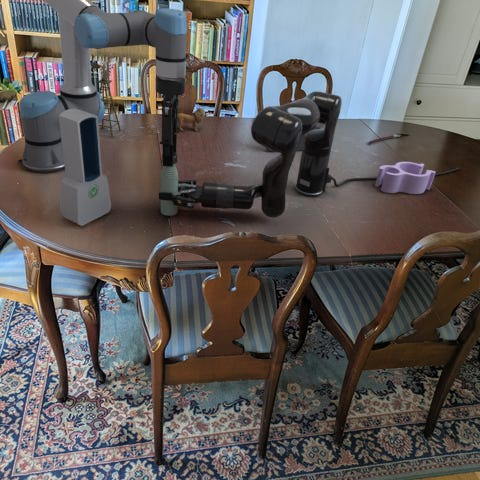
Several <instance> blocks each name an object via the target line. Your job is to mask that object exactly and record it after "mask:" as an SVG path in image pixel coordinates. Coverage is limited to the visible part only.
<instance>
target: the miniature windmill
mask: <svg viewBox="0 0 480 480" xmlns="http://www.w3.org/2000/svg"><path fill="white" fill-rule="evenodd" d="M101 60H102V61H100V63H101V64H99V63H96V62H91V66H92V67H91V68H92V70H99V71H100V75H101V79H99V80H98V81H97V80H96V83H98V84H100V86H99V91H98V92H99V93H100V94H101V95H102V98H103V100H102V101H103V102H104V103H106V106H104V107H105V110H107V112H105V111H104V115H108V119H106V118H104V117H105V116H104V117H103V119H102V121H101V124H98V126H99V127H101V128H102V129H104V128H108V129H109V130H110V136H111V137H110V138H112V137H114V133H113V128H114V127H115V126H117V128H118V131H122V129H121V125H120V121H119V118H118V115H117V109H116V107H115V103H114V99H113V96H112V93H111V87H110V85H109V84H111V83H112V82H113V80H110V79H109V78H110V76H111V73H112V67H111V66H112V64H111V62H112V61H111V57H109V55H107V56H105V55H102V58H101ZM108 79H109V80H108ZM108 93H109V97H108ZM105 99H106V100H105ZM109 102H111V105H112V108H111V107H110V106H109ZM111 110H112V111H111ZM113 113H114V116H115V120H113V119H112V118H111V114H113ZM104 121H107V122H108V123H109V126H108V125H104V124H105V123H104ZM112 122H114V123H115V124H113V125H112Z"/></svg>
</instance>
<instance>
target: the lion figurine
mask: <svg viewBox="0 0 480 480" xmlns="http://www.w3.org/2000/svg"><path fill="white" fill-rule="evenodd" d="M205 116H206V113H205V109H204V108H203V107H199V108H196V110H195V111H193V112H192V113H190V114H186V113H182V112H181V113H178V128H179V131H182V132H183V131H184V128H182V125H183V122H184V123H186V124H191V128H192V129H193V130H194V131H195V132H197V131H198V129H197V127H198V124H200V123H202V121H203V120H204V118H205Z"/></svg>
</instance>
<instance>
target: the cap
mask: <svg viewBox="0 0 480 480" xmlns="http://www.w3.org/2000/svg"><path fill="white" fill-rule="evenodd" d="M161 162H162V163H163V152H161ZM177 163H178V153H177V151H176V152H174V151H173V164H175V165H176V164H177Z"/></svg>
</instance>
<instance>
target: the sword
mask: <svg viewBox="0 0 480 480" xmlns="http://www.w3.org/2000/svg"><path fill="white" fill-rule="evenodd" d="M401 134H402V133H396V134H392V135H389V136H383V137H379V138H376V139H372V140H370V141H368V143H367V144H368V145H372V144H373V143H377V142H381V141H384V140H389V139H393V138H400V137H402V136H406V135H409V134H404V135H401Z"/></svg>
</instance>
